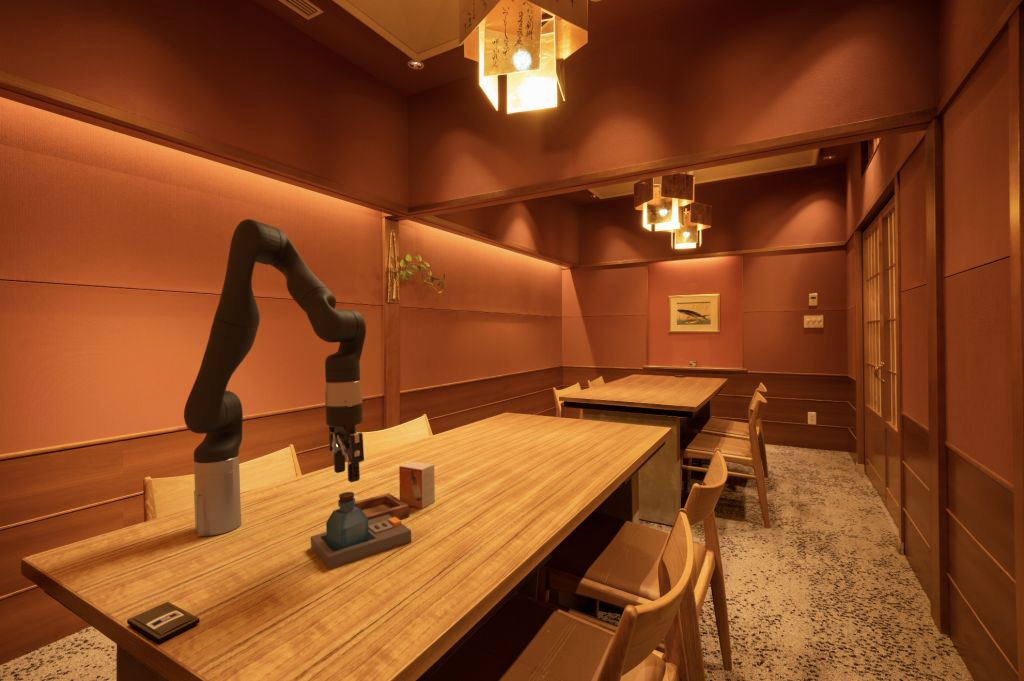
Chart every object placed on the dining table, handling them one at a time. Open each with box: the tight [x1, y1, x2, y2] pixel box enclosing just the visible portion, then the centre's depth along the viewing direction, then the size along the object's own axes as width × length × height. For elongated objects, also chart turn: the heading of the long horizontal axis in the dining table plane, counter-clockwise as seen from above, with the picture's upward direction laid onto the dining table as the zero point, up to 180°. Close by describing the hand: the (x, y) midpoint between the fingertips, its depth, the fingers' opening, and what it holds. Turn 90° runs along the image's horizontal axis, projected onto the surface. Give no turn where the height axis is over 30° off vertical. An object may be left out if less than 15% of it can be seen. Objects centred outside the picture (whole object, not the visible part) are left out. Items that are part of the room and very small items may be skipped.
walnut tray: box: [354, 493, 410, 520], centre depth 117 cm, size 12×12×3 cm
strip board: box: [310, 515, 412, 570], centre depth 102 cm, size 18×12×3 cm, turn 129°
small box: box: [398, 460, 436, 510], centre depth 126 cm, size 8×6×10 cm
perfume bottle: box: [325, 491, 369, 552], centre depth 100 cm, size 6×6×12 cm
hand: (346, 476), depth 99 cm, fingers open, 8 cm apart
